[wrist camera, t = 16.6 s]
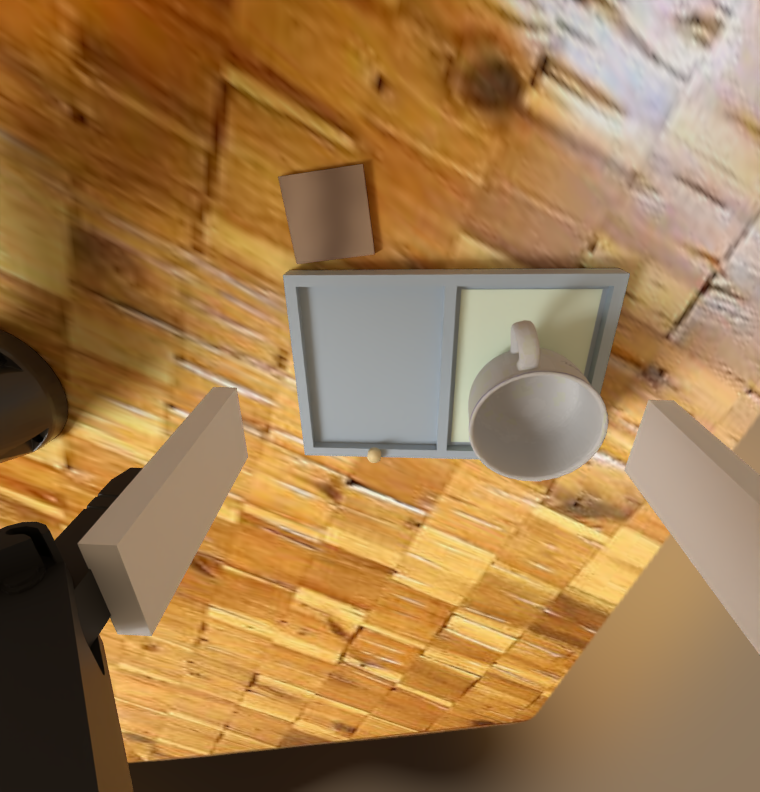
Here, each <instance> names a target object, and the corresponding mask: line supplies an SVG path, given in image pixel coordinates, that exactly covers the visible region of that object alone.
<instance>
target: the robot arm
mask: <svg viewBox="0 0 760 792" xmlns="http://www.w3.org/2000/svg"><path fill="white" fill-rule="evenodd" d="M67 415H68V406H67V400H66V396H65V393H64V390H63V388H62V386H61V384H60V382H59V380H58V378H57V377H56V375H55V373H54V372H53V371H52V369H51V368H50V367H49V365H48V364H47V363H46V362H45V361H44V360H43V359H42V358H41V357H40V356H39V355H38V354H37V353H36V352H35V351H34V350H33V349H31V348H30V347H29V346H28V345H26V344H25V343H23V342H22V341H20V340H19V339H17V338H16V337H14V336H12V335H10V334H8V333H6V332H4V331H2V330H0V463H2V462H5V461H8V460H11V459H14V458H17V457H20V456H23V455H26V454H29V453H32V452H34V451H36V450H38V449H40V448H42V447H43V446H44V445H46V444H47V443H48V442H50V441H51V440H52V439H54V438H55V437H56V436H57V435H59V433H60V432H61V431H62V430H63V428H64V426H65V423H66V420H67ZM247 458H248V454H247V448H246V442H245V436H244V430H243V424H242V418H241V412H240V406H239V400H238V394H237V388H228V387H213V388H212V389H211V390H210V392H209V393H208V394H207V395H206V396H205V397H204V398H203V400H202V401H201V402H200V403H199V404H198V405H197V407H196V408H195V409H194V410H193V411H192V412H191V413H190V415H189V416H188V417H187V418H186V419H185V420H184V421H183V423H182V424H181V425H180V426H179V427H178V428H177V430H176V431H175V432H174V433H173V434H172V435H171V436H170V438H169V439H168V440H167V441H166V442H165V443H164V445H163V446H162V447H161V448H160V449H159V450H158V451H157V453H156V454H155V455H154V456H153V457H152V458H151V460H150V461H149V462H148V463H147V464H146V465H145V466H144V468H129V469H128V470H126V471H125V472H123V473H121V474H120V475H118V476H117V477H115V478H114V479H112V480H111V481H110V482H109V483H108V484H107V485H106V486H105V487H104V488H103V489H102V490H101V492H100V493H99V494H98V497H95V498H94V499H93V500H92V501H91V502H90V503H89V504H88V505H87V509H84V510H83V511H82V512H81V513H80V514H79V515H78V516H77V517H76V518H75V519H74V520H73V521H72V522H71V524H70V525H69V526H68V527H67V528H66V529H65V530H64V531H63V532H62V533H61V534H60V535H59V536H58V537H57V538H56V540H55V541H54V539H53V537H52V535H51V533H50V531H49V529H48V528H47V526H46V525H45V524H42V523H39V522H22V523H18V524H14V525H10V526H6V527H4V528H2V529H0V792H133V787H132V782H131V777H130V772H129V767H128V762H127V758H126V753H125V748H124V743H123V738H122V733H121V728H120V723H119V718H118V714H117V709H116V704H115V699H114V694H113V689H112V684H111V679H110V675H109V670H108V665H107V660H106V655H105V650H104V645H103V642H102V640H101V638H100V635H99V633H100V632H101V630H102V629H103V627H104V626H105V624H106V623H107V621H108V620H109V618H111V620H112V623H113V625H114V627H115V629H116V632H117V634H124V635H143V636H152V634H153V632H154V631H155V629H156V627H157V625H158V623H159V621H160V619H161V618H162V616H163V614H164V612H165V610H166V608H167V606H168V605H169V603H170V601H171V599H172V597H173V595H174V593H175V592H176V590H177V588H178V586H179V584H180V582H181V580H182V579H183V577H184V575H185V573H186V571H187V569H188V567H189V566H190V564H191V562H192V560H193V558H194V556H195V554H196V553H197V551H198V549H199V547H200V545H201V543H202V541H203V540H204V538H205V536H206V534H207V532H208V530H209V528H210V527H211V525H212V523H213V521H214V519H215V517H216V515H217V514H218V512H219V510H220V508H221V506H222V504H223V502H224V501H225V499H226V497H227V495H228V493H229V491H230V489H231V487H232V486H233V484H234V482H235V480H236V478H237V476H238V474H239V473H240V471H241V469H242V467H243V465H244V463H245V461H246V460H247ZM625 472H626V473H627V475H628V476H629V477H630V479H631V480H632V481H633V483H634V484H635V485H636V487H637V488H638V490H639V491H640V492H641V494H642V495H643V496H644V498H645V499H646V500H647V502H648V503H649V505H650V506H651V507H652V509H653V510H654V511H655V513H656V514H657V516H658V517H659V518H660V520H661V521H662V522H663V524H664V525H665V526H666V528H667V529H668V531H669V532H670V533H671V535H672V536H673V537H674V539H675V540H676V541H677V543H678V544H679V546H680V547H681V548H682V550H683V551H684V552H685V554H686V555H687V556H688V558H689V559H690V561H691V562H692V563H693V565H694V566H695V567H696V569H697V570H698V571H699V573H700V574H701V576H702V577H703V578H704V580H705V581H706V582H707V584H708V585H709V586H710V588H711V589H712V591H713V592H714V593H715V595H716V596H717V597H718V599H719V600H720V601H721V603H722V604H723V605H724V607H725V608H726V610H727V611H728V612H729V614H730V615H731V616H732V618H733V619H734V621H735V622H736V623H737V625H738V626H739V627H740V629H741V630H742V631H743V633H744V634H745V636H746V637H747V638H748V640H749V641H750V642H751V644H752V645H753V647H754V648H755V649H756V650H757V652H758V653H759V655H760V475H759V474H758V473H757V472H756V471H755V470H754V469H752V468H751V467H750V466H749V465H748V464H747V463H745V462H744V461H743V460H742V459H741V458H740V457H739V456H737V455H736V454H735V453H734V452H733V451H732V450H730V449H729V448H728V447H727V446H726V445H725V444H723V443H722V442H721V441H720V440H719V439H718V438H716V437H715V436H714V435H713V434H712V433H711V432H709V431H708V430H707V429H706V428H705V427H704V426H702V425H701V424H700V423H699V422H698V421H697V420H695V419H694V418H693V417H692V416H691V415H690V414H688V413H687V412H686V411H685V410H684V409H683V408H681V407H680V406H679V405H678V404H677V403H676V402H675V401H671V400H648V403H647V406H646V409H645V411H644V414H643V417H642V420H641V423H640V426H639V429H638V432H637V435H636V438H635V441H634V444H633V447H632V449H631V452H630V455H629V458H628V461H627V464H626V467H625Z"/></svg>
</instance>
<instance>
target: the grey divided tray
mask: <svg viewBox="0 0 760 792" xmlns="http://www.w3.org/2000/svg"><path fill="white" fill-rule="evenodd" d="M629 276H630V273H628V272H626V271H624V270H622V269H620V268H553V269H385V270H289V271H288V272H286V273H285V274H284V275H283V280H284V288H285V296H286V304H287V312H288V320H289V328H290V337H291V345H292V353H293V361H294V369H295V377H296V385H297V393H298V402H299V410H300V418H301V426H302V434H303V442H304V450H305V455H324V456H365V457H367V458H368V460H369V461H370V462H372V463H377V462H379V461H380V459H381V457H406V458H448V459H479V458H478V457H477V456H476V454H475V452H474V450H473V448H472V446H471V443H470V440H469V415H468V401H469V394H470V390H471V386H472V384H473V382H474V380H475V378H476V376H477V374H478V373H479V372H480V370H481V369H482V368H483V367H484V366H485V365H486V364H487V363H488V362H490V361H491V360H492V359H494V358H495V357H497V356H499V355H501V354H503V353H505V352H508V351H510V346H511V327H512V325H513V324H514V323H516V322H519V321H523V320H528V321H531V322H532V323H533V324H534V326H535V328H536V331H537V335H538V339H539V345H540V348H543V349H548V350H551V351H554V352H556V353H558V354H560V355H562V356H564V357H566V358H567V359H568V360H570V361H571V362H572V363H573V364H574V365H575V366H576V367H577V368H578V369H579V370H580V371H581V372H582V373H583V375H584V376H585V377H586V379H587V380H588V381H589V383H590V385H591V386H592V387H593V388H594V389H595V390H596V391H597V392H598V393H599V394H600V393H601V389H602V385H603V381H604V377H605V373H606V369H607V365H608V360H609V356H610V352H611V348H612V344H613V340H614V336H615V332H616V328H617V324H618V320H619V316H620V312H621V308H622V304H623V300H624V296H625V292H626V288H627V284H628V280H629Z"/></svg>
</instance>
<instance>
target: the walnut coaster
mask: <svg viewBox="0 0 760 792" xmlns="http://www.w3.org/2000/svg"><path fill="white" fill-rule="evenodd" d="M278 179H279V183H280V188H281V193H282V197H283V202H284V207H285V211H286V216H287V221H288V225H289V230H290V235H291V239H292V244H293V249H294V253H295V258H296V263H297V264H303V263H311V262H319V261H326V260H334V259H342V258H350V257H358V256H366V255H373V254H375V249H374V241H373V234H372V226H371V218H370V211H369V203H368V196H367V188H366V181H365V173H364V166H363V164H359V165H352V166H346V167H339V168H332V169H326V170H319V171H313V172H306V173H300V174H293V175H287V176H280V177H278Z"/></svg>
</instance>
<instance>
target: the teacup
mask: <svg viewBox="0 0 760 792" xmlns="http://www.w3.org/2000/svg"><path fill="white" fill-rule="evenodd" d="M468 415H469V440H470V443H471V446H472V448H473V450H474V452H475V454H476V456H477V457H478V458H479V459H480V461H481V462H482V463H483V464H484V465H485V466H487V467H488V468H489V469H491V470H492V471H494V472H496V473H498V474H500V475H502V476H505V477H508V478H512V479H517V480H522V481H542V480H549V479H553V478H558V477H560V476H563V475H565V474H568V473H571V472H573V471H574V470H576V469H578V468H579V467H581V466H582V465H584V464H585V463H586V462H587V461H588V460H590V459H591V458H592V456H593V455H594V454H595V453H596V452H597V451H598V449H599V448H600V446H601V445H602V443H603V440H604V439H605V436H606V433H607V428H608V413H607V411H606V406H605V404H604V402H603V399H602V398H601V396H600V394H599V393H598V392H597V391H596V390H595V389H594V388H593V387H592V386H591V385H590V383H589V381H588V380H587V379H586V377H585V376H584V375H583V373H582V372H581V371H580V370H579V369H578V368H577V367H576V366H575V365H574V364H573V363H572V362H571V361H570V360H568V359H567V358H566V357H564V356H562V355H560V354H558V353H556V352H554V351H551V350H548V349H543V348H540V345H539V339H538V335H537V331H536V328H535V326H534V324H533V323H532V322H531V321H528V320H523V321H519V322H516V323H514V324H513V325H512V327H511V346H510V351H508V352H505V353H503V354H501V355H499V356H497V357H495V358H494V359H492V360H491V361H490V362H488V363H487V364H486V365H485V366H484V367H483V368H482V369H481V370H480V372H479V373H478V374H477V376H476V378H475V380H474V382H473V384H472V386H471V390H470V394H469V401H468Z"/></svg>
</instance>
